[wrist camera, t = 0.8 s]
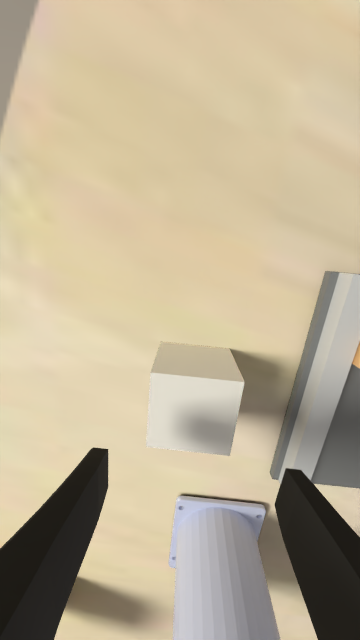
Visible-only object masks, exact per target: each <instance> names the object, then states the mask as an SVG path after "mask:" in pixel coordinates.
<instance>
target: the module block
mask: <svg viewBox="0 0 360 640" xmlns="http://www.w3.org/2000/svg"><path fill="white" fill-rule="evenodd" d="M244 383H245V382H244V380H243V377H242V375H241V373H240V371H239V369H238V366H237V364H236V362H235V360H234V357H233V355H232V353H231V351H230V349H229V348H220V347H210V346H200V345H190V344H180V343H171V342H160V345H159V348H158V351H157V355H156V358H155V361H154V364H153V367H152V370H151V375H150V391H149V407H148V423H147V439H146V447H151V448H160V449H170V450H179V451H189V452H198V453H208V454H217V455H226V456H230V452H231V447H232V442H233V437H234V432H235V427H236V422H237V417H238V412H239V407H240V403H241V398H242V393H243V388H244Z"/></svg>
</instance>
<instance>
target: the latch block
mask: <svg viewBox="0 0 360 640" xmlns="http://www.w3.org/2000/svg"><path fill="white" fill-rule="evenodd" d="M352 364H353V365H355V366H357V367H358V368H360V342H359V345H358V347H357V350H356V353H355V356H354V359H353V362H352Z"/></svg>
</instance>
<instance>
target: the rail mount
mask: <svg viewBox="0 0 360 640" xmlns="http://www.w3.org/2000/svg"><path fill="white" fill-rule="evenodd" d="M359 342H360V274H350V273H340V272H330V271H325V275H324V278H323V282H322V285H321V289H320V293H319V296H318V300H317V303H316V307H315V311H314V314H313V318H312V321H311V325H310V329H309V332H308V336H307V339H306V343H305V347H304V350H303V354H302V357H301V361H300V365H299V368H298V372H297V376H296V379H295V383H294V386H293V390H292V394H291V397H290V401H289V404H288V408H287V412H286V415H285V419H284V422H283V426H282V430H281V433H280V437H279V440H278V444H277V448H276V451H275V455H274V459H273V462H272V466H271V469H270V474H271V477H272V479H276V480H279V483H280V485H281V482H282V479H283V475H284V472H285V469H286V468H290V469H299V470H302V472H303V473H304V474H305V475H306V476H307V477H308V478H309V480H310V481H311V482H312V483H314V484H323V485H332V486H342V487H351V488H360V368H358V367H357V366H355V365H353V364H352V362H353V359H354V356H355V353H356V350H357V347H358V345H359Z"/></svg>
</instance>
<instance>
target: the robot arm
mask: <svg viewBox="0 0 360 640" xmlns="http://www.w3.org/2000/svg"><path fill="white" fill-rule="evenodd" d="M107 489H108V449H101V448H92V449H91V450H90V451H89V452H88V453H87V455H86V456H85V457H84V458H83V460H82V461H81V462H80V463H79V464H78V466H77V467H76V468H75V469H74V470H73V472H72V473H71V474H70V475H69V476H68V477H67V479H66V480H65V481H64V482H63V483H62V484H61V485H60V487H59V488H58V489H57V490H56V491H55V492H54V493H53V494H52V495H51V497H50V498H49V499H48V500H47V501H46V502H45V503H44V504H43V505H42V506H41V508H40V509H39V510H38V511H37V512H36V513H35V514H34V515H33V516H32V517H31V518H30V519H29V520H28V521H27V522H26V523H25V524H24V525H23V526H22V527H21V528H20V529H19V530H18V531H17V532H16V533H15V534H14V535H13V536H12V537H11V538H10V539H9V540H8V541H7V542H6V543H5V544H4V545H3V546H2V547H1V548H0V640H54V637H55V634H56V631H57V628H58V625H59V622H60V620H61V617H62V614H63V611H64V608H65V606H66V603H67V600H68V598H69V595H70V593H71V590H72V587H73V585H74V582H75V580H76V577H77V574H78V572H79V569H80V567H81V564H82V561H83V559H84V556H85V554H86V551H87V548H88V546H89V543H90V541H91V538H92V535H93V533H94V530H95V528H96V525H97V522H98V520H99V516H100V513H101V510H102V506H103V503H104V499H105V496H106V492H107ZM275 508H276V513H277V517H278V521H279V525H280V529H281V533H282V536H283V540H284V543H285V546H286V549H287V552H288V555H289V558H290V560H291V563H292V566H293V569H294V572H295V575H296V578H297V581H298V584H299V586H300V589H301V592H302V595H303V598H304V601H305V604H306V606H307V609H308V612H309V615H310V618H311V621H312V624H313V626H314V629H315V632H316V635H317V638H318V640H360V537H359V536H358V535H357V534H356V533H355V532H354V531H353V530H352V528H351V527H350V526H349V525H348V524H347V523H346V522H345V520H344V519H343V518H342V517H341V516H340V515H339V514H338V512H337V511H336V510H335V509H334V508H333V507H332V505H331V504H330V503H329V502H328V501H327V500H326V498H325V497H324V496H323V495H322V494H321V493H320V491H319V490H318V489H317V488H316V487H315V485H314V484H313V483H312V482H311V481H310V480H309V478H308V477H307V476H306V475H305V474H304V473H303V472H302V470H299V469H290V468H286V469H285V472H284V475H283V479H282V482H281V485H280V488H279V492H278V495H277V498H276V502H275ZM265 514H266V510H265V507H264V506H263V505H262V504H255V503H246V502H236V501H227V500H218V499H209V498H199V497H190V496H178V497H177V499H176V506H175V515H174V523H173V531H172V539H171V547H170V555H169V566H170V567H172V568H176V572H175V596H174V621H173V640H280V636H279V631H278V627H277V623H276V619H275V615H274V611H273V606H272V602H271V598H270V594H269V590H268V586H267V581H266V577H265V573H264V569H263V565H262V561H261V556H260V552H259V548H258V544H257V541H258V538H259V534H260V531H261V527H262V524H263V521H264V517H265Z"/></svg>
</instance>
